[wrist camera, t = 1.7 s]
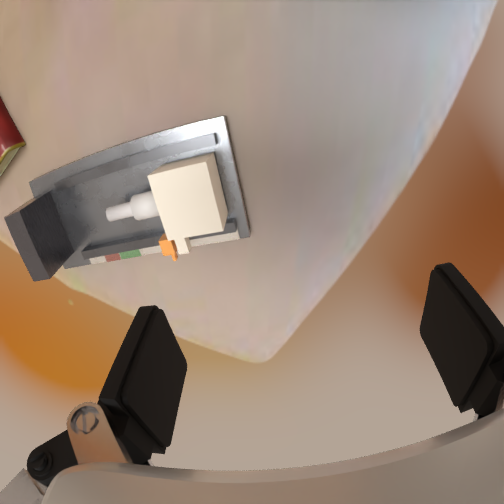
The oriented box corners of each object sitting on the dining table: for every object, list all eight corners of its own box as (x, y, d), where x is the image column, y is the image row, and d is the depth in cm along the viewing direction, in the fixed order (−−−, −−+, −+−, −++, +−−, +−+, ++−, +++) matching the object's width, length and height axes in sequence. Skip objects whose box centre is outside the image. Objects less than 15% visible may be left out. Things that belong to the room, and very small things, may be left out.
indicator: (174, 231, 28) (169, 239, 27) (182, 255, 30) (178, 264, 28) (163, 233, 28) (158, 241, 27) (171, 257, 30) (167, 265, 28)
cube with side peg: (213, 152, 26) (205, 161, 22) (233, 233, 30) (229, 253, 26) (108, 179, 27) (89, 192, 23) (134, 250, 31) (120, 270, 27)
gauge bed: (224, 115, 25) (213, 121, 19) (250, 231, 31) (247, 268, 25) (34, 179, 28) (-3, 200, 22) (69, 264, 34) (41, 295, 28)
